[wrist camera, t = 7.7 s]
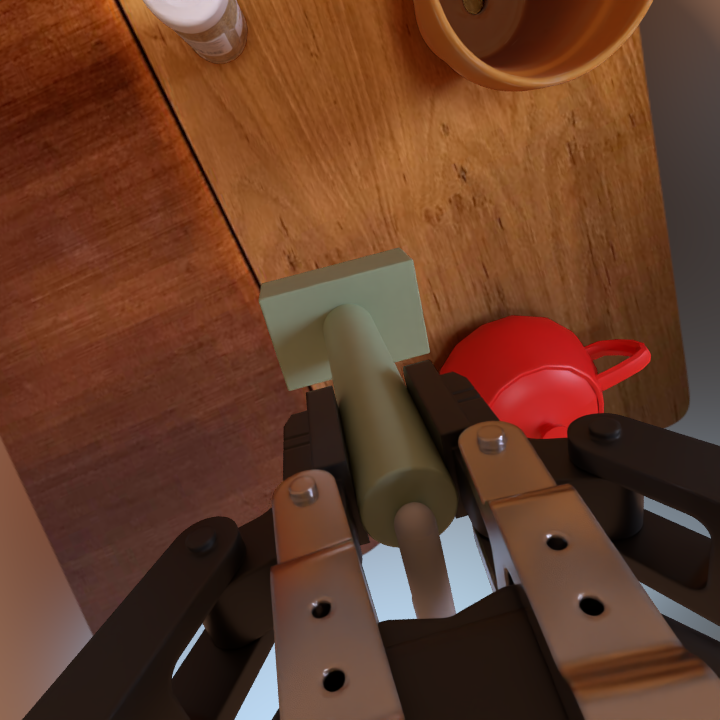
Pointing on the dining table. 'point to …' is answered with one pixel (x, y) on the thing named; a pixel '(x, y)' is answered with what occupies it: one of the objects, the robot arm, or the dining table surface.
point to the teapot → (540, 372)
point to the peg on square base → (373, 402)
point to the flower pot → (527, 38)
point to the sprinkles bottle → (205, 25)
